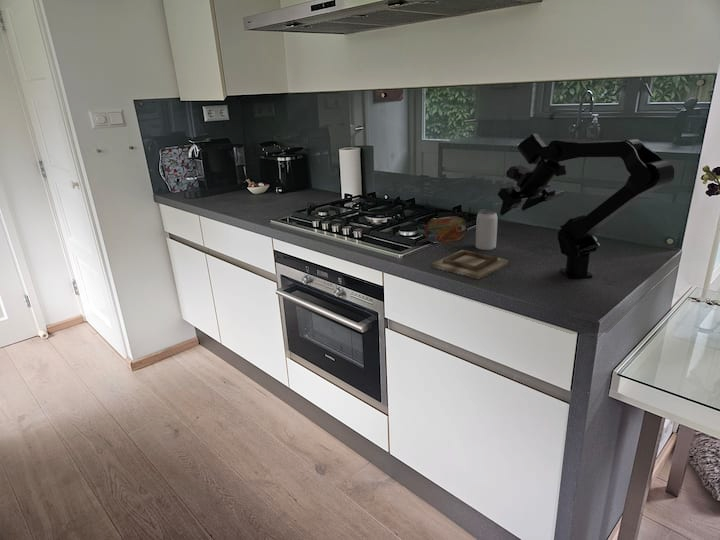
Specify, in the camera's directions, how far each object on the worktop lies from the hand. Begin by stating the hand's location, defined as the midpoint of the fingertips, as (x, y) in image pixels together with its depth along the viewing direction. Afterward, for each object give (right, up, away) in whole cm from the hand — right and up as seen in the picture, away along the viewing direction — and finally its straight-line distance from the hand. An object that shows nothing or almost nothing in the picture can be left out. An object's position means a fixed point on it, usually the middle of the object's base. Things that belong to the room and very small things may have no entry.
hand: (511, 212), depth 150 cm
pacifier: (+27, -10, +7) cm, 30 cm away
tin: (-17, -8, +18) cm, 26 cm away
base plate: (-14, -16, -5) cm, 22 cm away
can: (-6, -11, +10) cm, 15 cm away
